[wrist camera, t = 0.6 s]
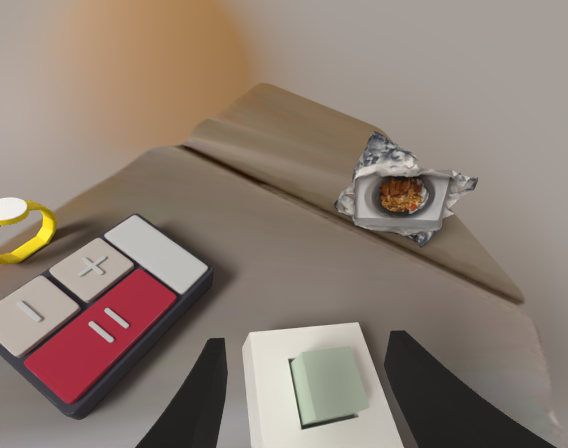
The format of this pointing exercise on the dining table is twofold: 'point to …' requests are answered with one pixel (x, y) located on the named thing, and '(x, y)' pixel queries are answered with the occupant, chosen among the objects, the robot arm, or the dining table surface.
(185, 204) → the dining table surface
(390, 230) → the meal
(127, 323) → the calculator
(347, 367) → the sage key
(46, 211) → the watch
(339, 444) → the key panel
